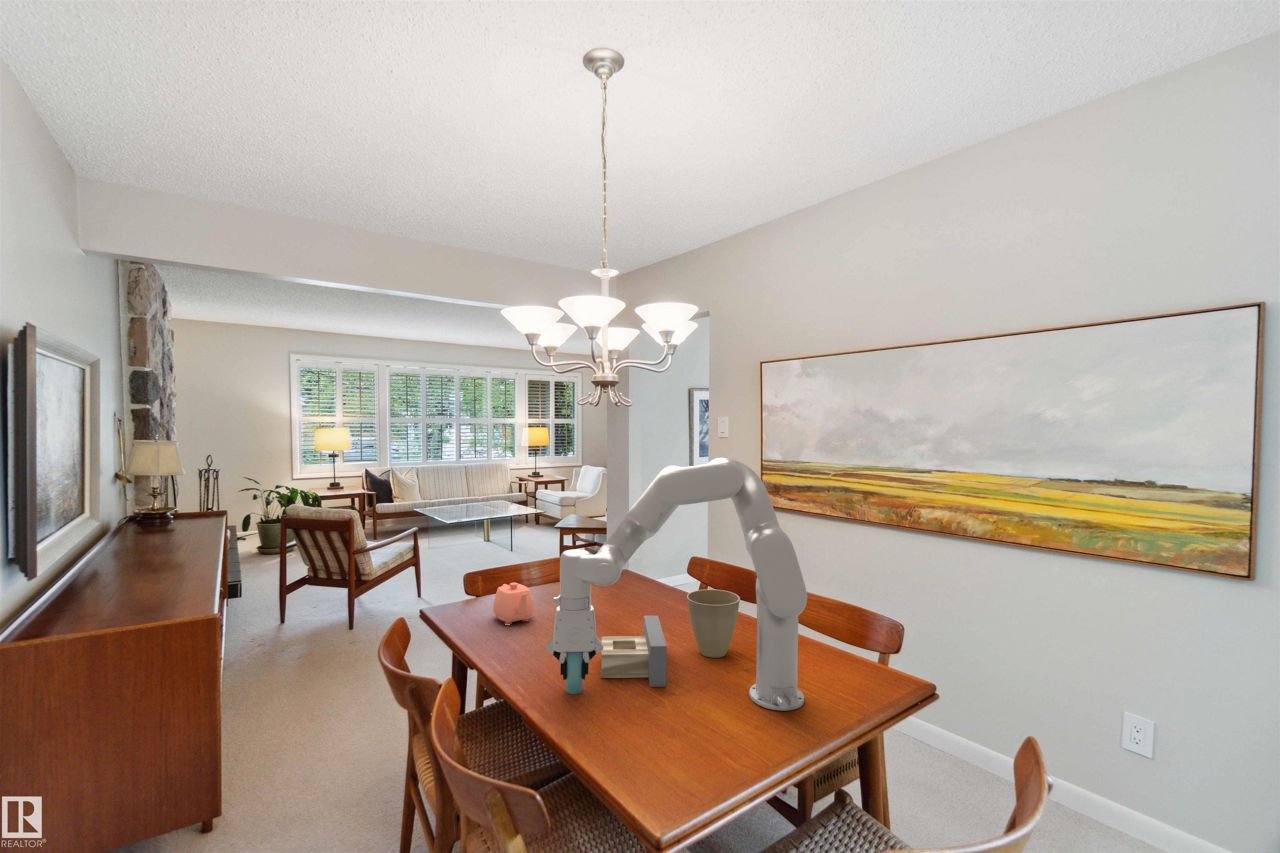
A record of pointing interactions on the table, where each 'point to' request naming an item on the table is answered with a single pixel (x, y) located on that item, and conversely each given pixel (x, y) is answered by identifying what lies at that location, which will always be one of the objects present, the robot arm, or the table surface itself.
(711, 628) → the plant pot
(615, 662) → the socket block
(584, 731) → the table surface
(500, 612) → the teapot
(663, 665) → the rail
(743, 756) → the table surface
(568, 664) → the dowel
